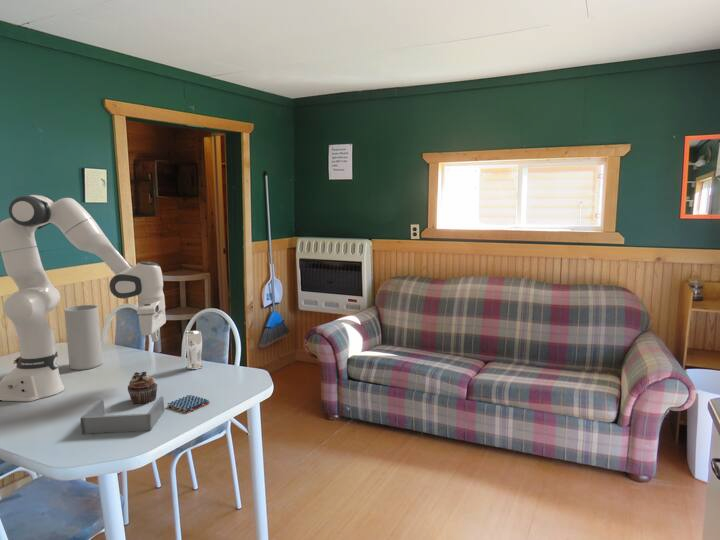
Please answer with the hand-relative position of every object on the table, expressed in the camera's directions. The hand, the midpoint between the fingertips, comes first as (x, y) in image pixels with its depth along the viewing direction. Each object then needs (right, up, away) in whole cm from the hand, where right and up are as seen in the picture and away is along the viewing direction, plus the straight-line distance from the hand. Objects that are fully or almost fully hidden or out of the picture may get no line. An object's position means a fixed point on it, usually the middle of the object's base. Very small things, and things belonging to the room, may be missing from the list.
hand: (155, 340), depth 200 cm
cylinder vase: (-39, -14, +26) cm, 49 cm away
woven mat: (+19, -20, -20) cm, 34 cm away
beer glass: (+8, -14, +21) cm, 26 cm away
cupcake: (+1, -19, -15) cm, 24 cm away
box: (+3, -21, -33) cm, 39 cm away
